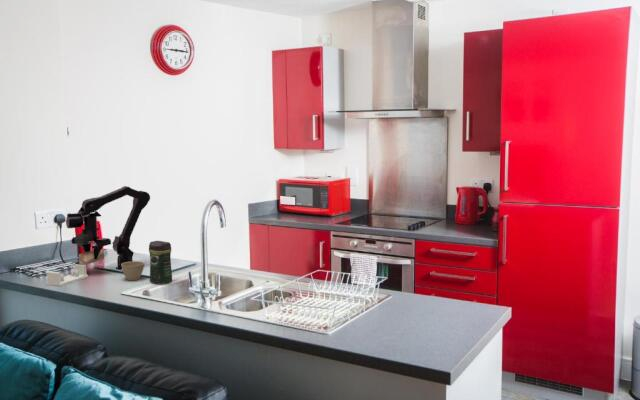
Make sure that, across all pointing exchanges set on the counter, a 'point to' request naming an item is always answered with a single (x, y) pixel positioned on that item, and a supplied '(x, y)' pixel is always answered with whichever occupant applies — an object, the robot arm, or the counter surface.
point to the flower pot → (132, 269)
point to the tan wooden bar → (90, 257)
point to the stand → (61, 280)
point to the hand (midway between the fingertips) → (91, 259)
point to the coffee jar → (160, 262)
